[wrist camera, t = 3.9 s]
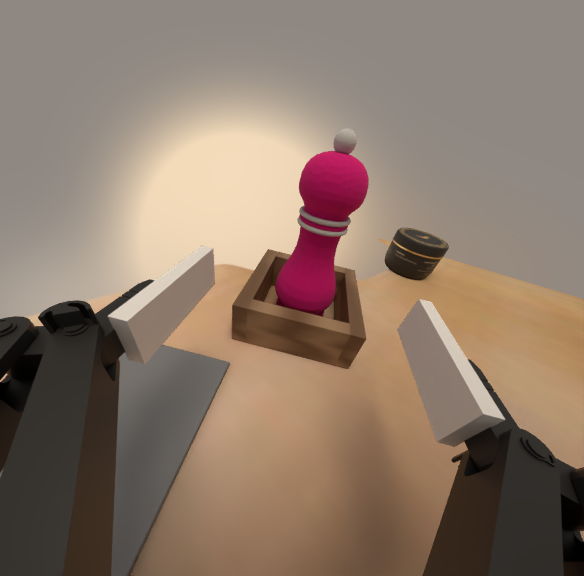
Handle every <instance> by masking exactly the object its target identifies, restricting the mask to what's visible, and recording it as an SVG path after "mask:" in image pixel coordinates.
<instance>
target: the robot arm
mask: <svg viewBox="0 0 584 576" xmlns="http://www.w3.org/2000/svg"><path fill="white" fill-rule="evenodd" d="M214 284H215V274H214V255H213V248H210V247H205V246H200V247H199V248H198V249H196V250H195V251H194V252H192V253H191V254H190V255H188V256H187V257H186V258H184V259H183V260H182V261H180V262H179V263H178V264H177V265H175V266H174V267H172V268H171V269H170V270H168V271H167V272H166V273H164V274H163V275H162V276H160V277H159V278H158V279H157V280H155V281H154V280H147V281H144V282H142V283H139V284H137V285H136V286H134V287H133V288H131V289H130V290H129V292H128V291H127V292H126V293H124V294H123V295H122V297H119V298H117V299H116V300H114V301H113V302H112V303H110V304H109V305H107V306H106V307H104V308H103V309H102V310H100V311H99V312H97V313H96V314H95V313H94V312H93V310H92V308H91V306H90V304H88V303H87V302H84V301H67V302H63V303H59V304H57V305H54V306H52V307H49V308H48V309H46V310H45V311H43V312H42V313H41V314H40V315H39V316H38V319H39V320H40V321H41V323H42V324H43V325H44V326H34V325H33V323H32V322H31V321H30V320H29V319H28V318H25V317H8V318H4V319H0V380H1V379H2V378H3V376H4V375H5V374H8V375H7V376H6V377H5V379H4V380H3V381H1V382H0V473H1V471H2V470H3V471H2V474H1V477H0V576H111V566H112V542H113V519H114V495H115V471H116V448H117V424H118V401H119V377H120V361H119V357H120V356H121V355H122V354H123V353H124V352H125V353H126V355H127V357H128V359H129V360H130V361H134V362H138V363H142V364H146V363H147V362H148V360H149V359H150V358H151V357H152V356H153V355H154V353H155V352H156V351H157V350H158V349H159V348H160V347H161V345H162V344H163V343H164V342H165V341H166V340H167V338H168V337H169V336H170V335H171V334H172V333H173V332H174V330H175V329H176V328H177V327H178V326H179V325H180V323H181V322H182V321H183V320H184V319H185V318H186V316H187V315H188V314H189V313H190V312H191V311H192V310H193V308H194V307H195V306H196V305H197V304H198V303H199V301H200V300H201V299H202V298H203V297H204V296H205V295H206V293H207V292H208V291H209V290H210V289H211V288H212V286H213V285H214ZM397 330H398V333H399V336H400V339H401V341H402V344H403V347H404V350H405V353H406V356H407V359H408V361H409V364H410V367H411V370H412V373H413V376H414V379H415V381H416V384H417V387H418V390H419V393H420V396H421V399H422V402H423V404H424V407H425V410H426V413H427V416H428V419H429V422H430V424H431V427H432V430H433V433H434V436H435V439H436V442H439V443H442V444H446V445H450V446H454V447H455V446H457V445H459V444H461V443H462V442H464V441H465V444H466V446H467V448H468V450H467V451H465V452H463V453H461V454H459V455H457V456H455V457H453V458H452V460H451V461H452V462H453V463H454V462H457V461H459V460H461V462H460V465H459V466H458V467H459V468H458V471H457V474H456V477H455V480H454V483H453V486H452V489H451V492H450V495H449V498H448V501H447V504H446V507H445V510H444V513H443V516H442V519H441V522H440V525H439V528H438V531H437V534H436V537H435V540H434V543H433V546H432V549H431V552H430V555H429V558H428V561H427V564H426V567H425V570H424V573H423V576H584V541H583V539H582V537H581V534H580V531H584V467H583V468H579V469H575V468H573V467H571V466H569V465H568V464H566V463H564V462H562V461H560V460H558V459H556V458H555V457H554V455H553V454H552V452H551V451H550V450H549V449H548V448H547V447H546V446H545V444H544V443H542V442H541V441H540V440H539V439H538V438H537V437H535V436H534V435H532V434H531V433H529V432H528V431H526V430H523V429H520V428H519V427H518V426H517V424H516V423H515V421H514V420H513V418H512V417H511V415H510V414H509V412H508V411H507V409H506V408H505V406H504V404H503V403H502V401H501V400H500V398H499V397H498V395H497V394H496V392H494V389H493V388H492V386H491V385H490V383H488V380H487V379H486V377H485V376H484V374H483V373H482V371H481V370H480V369H479V368H478V367H477V366H476V365H475V364H474V363H473V362H472V361H471V360H469V359H467V358H466V356H465V355H464V353H463V352H462V350H461V348H460V347H459V345H458V344H457V342H456V340H455V339H454V337H453V336H452V334H451V332H450V331H449V329H448V328H447V326H446V325H445V323H444V321H443V320H442V318H441V317H440V315H439V313H438V312H437V310H436V309H435V307H434V305H433V304H432V302H429V301H425V300H421V299H419V300H418V301H417V302H416V304H415V305H414V307H413V308H412V309H411V311H410V312H409V314H408V315H407V316H406V318H405V319H404V321H403V322H402V323H401V325H400V326H399V328H398V329H397Z"/></svg>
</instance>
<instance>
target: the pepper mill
mask: <svg viewBox="0 0 584 576" xmlns="http://www.w3.org/2000/svg"><path fill="white" fill-rule="evenodd" d="M355 146H356V135H355V133H354V132H353V130H351V129H342V130H341V131H339V132H338V133H337V135H336V136H335V139H334V149H335V151H328V152H323V153H320V154H317V155H316V156H314V157H313V158H311V159H310V160H309V162H308V163H307V164H306V166H305V168H304V169H303V171H302V174H301V178H300V182H299V191H300V195H301V197H302V199H303V201H304V205H305V206H303V207H301V208H300V216H299V218H298V223H299V225H300V226H301V228H300V235H299V239H298V242H297V246H296V247H295V250H294V252H293V253H292V255H291V256H290V258H289V259H288V260H287V262H286V263H285V264H284V266H283V267H282V269H281V271H280V273H279V275H278V277H277V281H276V285H275V289H276V294H277V296H278V299H277V303H276V305H278V306H282V307H286V308H290V309H294V310H298V311H301V312H305V313H309V314H313V315H317V316H321V317H322V316H323V313H324V310H325V309H327V308H328V307H329V306H330V305H331V303H332V301H333V298H334V295H335V288H336V280H335V272H334V257H335V252H336V248H337V245H338V242H339V239H340V237H341V236H343V235H345V234H346V233H347V227H348V225H349V224H350V222H351V220H350V218H349V217H348V216H349V215H350V214H351V213H352V212H354V211H355V210H356V209H358V208H359V207H360V206H361V204H362V203H363V201H364V199H365V197H366V194H367V189H368V175H367V171H366V169H365V167H364V165H363V164H362V163H361V162H360V161H359V160H358V159H356V158H355V157H353V156H351V155H349V154H350V153H351V152H352V151H353V150H354V148H355Z"/></svg>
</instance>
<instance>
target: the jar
mask: <svg viewBox="0 0 584 576" xmlns="http://www.w3.org/2000/svg"><path fill="white" fill-rule="evenodd" d="M448 247H449V246H448V244H447V243H446V242H445V241H443V240H442V239H440V238H438V237H436V236H434V235H432V234H429V233H426V232H423V231H419V230H416V229H411V228H400V229H399V230H398V231H397V233H396V234H395V236H394V237H393V241H392V242H391V244H390V246H389V249H388V250H387V253H386V256H385V264H386V266H387V267H388V268H389V269H390V270H392V271H393V272H395V273H397V274H399V275H401V276H403V277H406V278H410V279H415V280H420V279H423V278H426V277H427V276H428V275H429V274H431V273H432V271H433V270H434V268H435V267H436V266H437V264H438V263H439V261H440V260H441V259H442V258H443V257H444V254H445V253H446V251H447V250H448Z"/></svg>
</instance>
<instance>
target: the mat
mask: <svg viewBox="0 0 584 576" xmlns="http://www.w3.org/2000/svg"><path fill="white" fill-rule="evenodd" d="M119 361H120V377H119V401H118V424H117V448H116V471H115V495H114V519H113V542H112V566H111V576H129V574H130V572H131V570H132V568H133V566H134V563H135V561H136V559H137V557H138V555H139V553H140V551H141V549H142V547H143V545H144V543H145V540H146V538H147V536H148V534H149V532H150V530H151V528H152V526H153V524H154V522H155V520H156V517H157V515H158V513H159V511H160V509H161V507H162V505H163V503H164V501H165V499H166V497H167V494H168V492H169V490H170V488H171V486H172V484H173V482H174V480H175V478H176V476H177V474H178V471H179V469H180V467H181V465H182V463H183V461H184V459H185V457H186V455H187V453H188V451H189V448H190V446H191V444H192V442H193V440H194V438H195V436H196V434H197V432H198V430H199V428H200V425H201V423H202V421H203V419H204V417H205V415H206V413H207V411H208V409H209V407H210V405H211V402H212V400H213V398H214V396H215V394H216V392H217V390H218V388H219V386H220V384H221V382H222V379H223V377H224V375H225V373H226V371H227V369H228V367H229V365H230V362H226V361H222V360H219V359H215V358H211V357H207V356H203V355H200V354H196V353H192V352H188V351H184V350H181V349H177V348H173V347H169V346H165V345H161V347H160V348H159V349H158V350H157V351H156V352H155V353H154V355H153V356H152V357H151V358H150V359H149V360H148V362H147V363H146V364H142V363H138V362H134V361H130V360H129V359H128V357H127V355H126V353H125V352H124V353H123V354H122V355H121V356H120V357H119ZM2 471H3V470H2ZM2 471H1V473H0V477H1V474H2Z"/></svg>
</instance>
